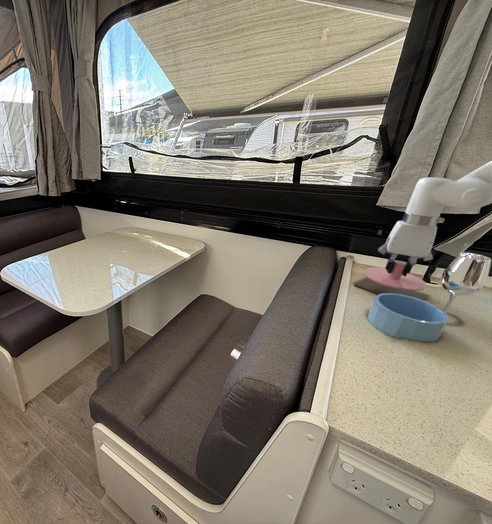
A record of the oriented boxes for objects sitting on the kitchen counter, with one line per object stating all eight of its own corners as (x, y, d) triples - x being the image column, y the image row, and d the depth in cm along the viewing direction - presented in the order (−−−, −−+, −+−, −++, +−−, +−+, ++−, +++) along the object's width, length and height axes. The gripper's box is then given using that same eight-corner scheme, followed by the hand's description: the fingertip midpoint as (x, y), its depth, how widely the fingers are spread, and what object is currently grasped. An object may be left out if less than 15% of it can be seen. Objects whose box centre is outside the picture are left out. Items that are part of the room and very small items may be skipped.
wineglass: (459, 331, 73) (498, 265, 65) (420, 318, 78) (451, 255, 70) (461, 320, 77) (498, 256, 69) (424, 308, 83) (454, 248, 75)
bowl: (446, 333, 72) (458, 313, 70) (422, 351, 66) (434, 330, 64) (382, 306, 84) (390, 288, 82) (357, 320, 78) (364, 301, 76)
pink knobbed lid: (433, 285, 88) (443, 266, 85) (411, 297, 81) (421, 277, 78) (377, 266, 101) (384, 250, 98) (354, 276, 94) (360, 258, 91)
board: (426, 298, 89) (427, 295, 88) (410, 307, 84) (411, 305, 83) (371, 278, 102) (371, 276, 101) (353, 285, 97) (354, 283, 96)
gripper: (452, 220, 81) (426, 274, 89) (382, 213, 89) (364, 263, 97) (462, 227, 75) (432, 284, 83) (386, 218, 83) (366, 271, 91)
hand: (396, 272), depth 90 cm, fingers closed on pink knobbed lid, 3 cm apart
